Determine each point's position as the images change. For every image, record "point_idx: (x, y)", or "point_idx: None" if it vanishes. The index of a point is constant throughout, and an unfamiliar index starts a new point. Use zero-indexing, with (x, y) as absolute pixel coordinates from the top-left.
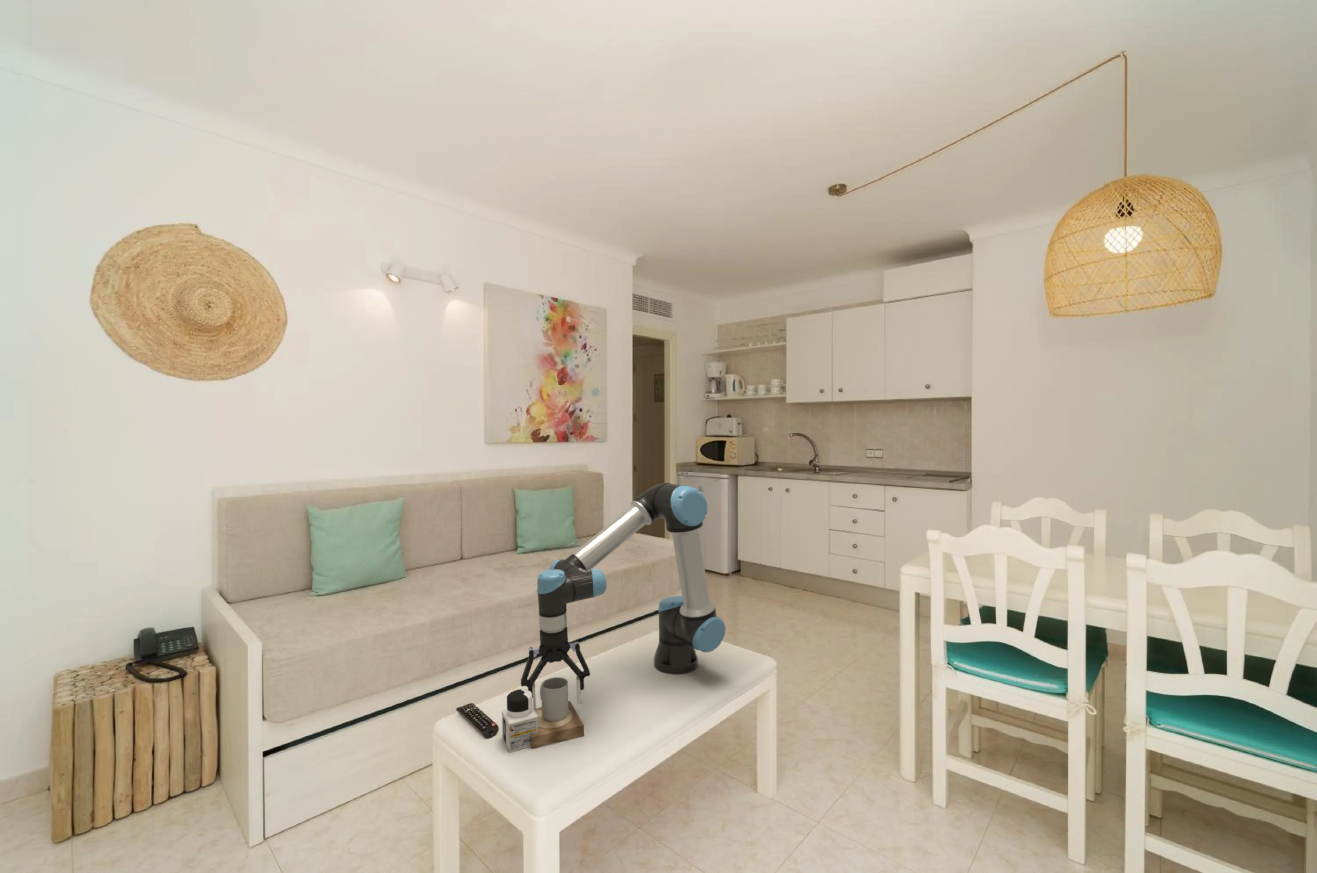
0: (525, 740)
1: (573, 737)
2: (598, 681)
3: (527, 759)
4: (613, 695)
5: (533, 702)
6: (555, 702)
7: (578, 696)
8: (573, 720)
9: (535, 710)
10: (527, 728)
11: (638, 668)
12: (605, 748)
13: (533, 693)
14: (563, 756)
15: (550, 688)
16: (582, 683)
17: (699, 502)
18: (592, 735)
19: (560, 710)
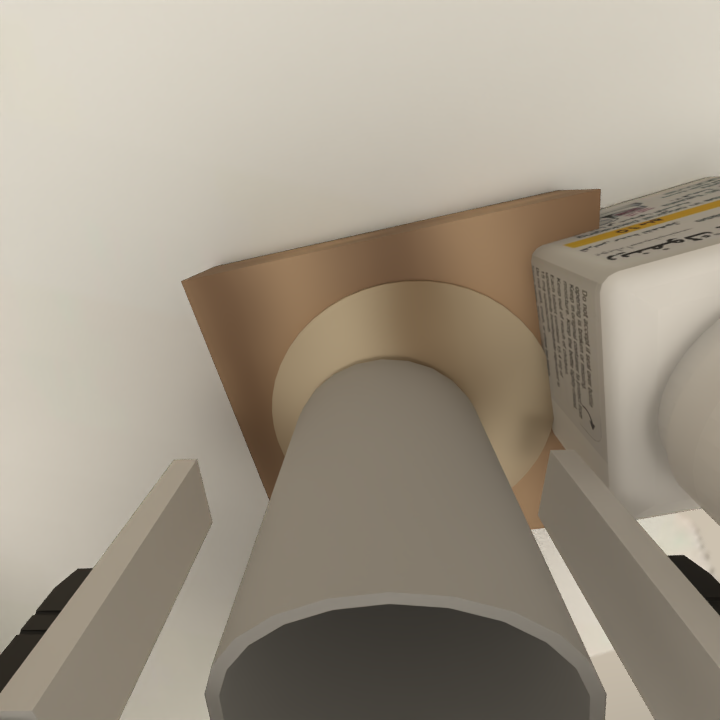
0: (624, 214)
1: (278, 253)
2: (186, 670)
3: (613, 48)
4: None
5: (619, 505)
6: (396, 443)
7: (159, 507)
8: (262, 356)
9: (558, 452)
10: (669, 226)
11: None
12: (49, 72)
13: (693, 601)
14: (348, 27)
15: (430, 654)
16: (22, 650)
17: None
18: (163, 262)
19: (347, 398)
